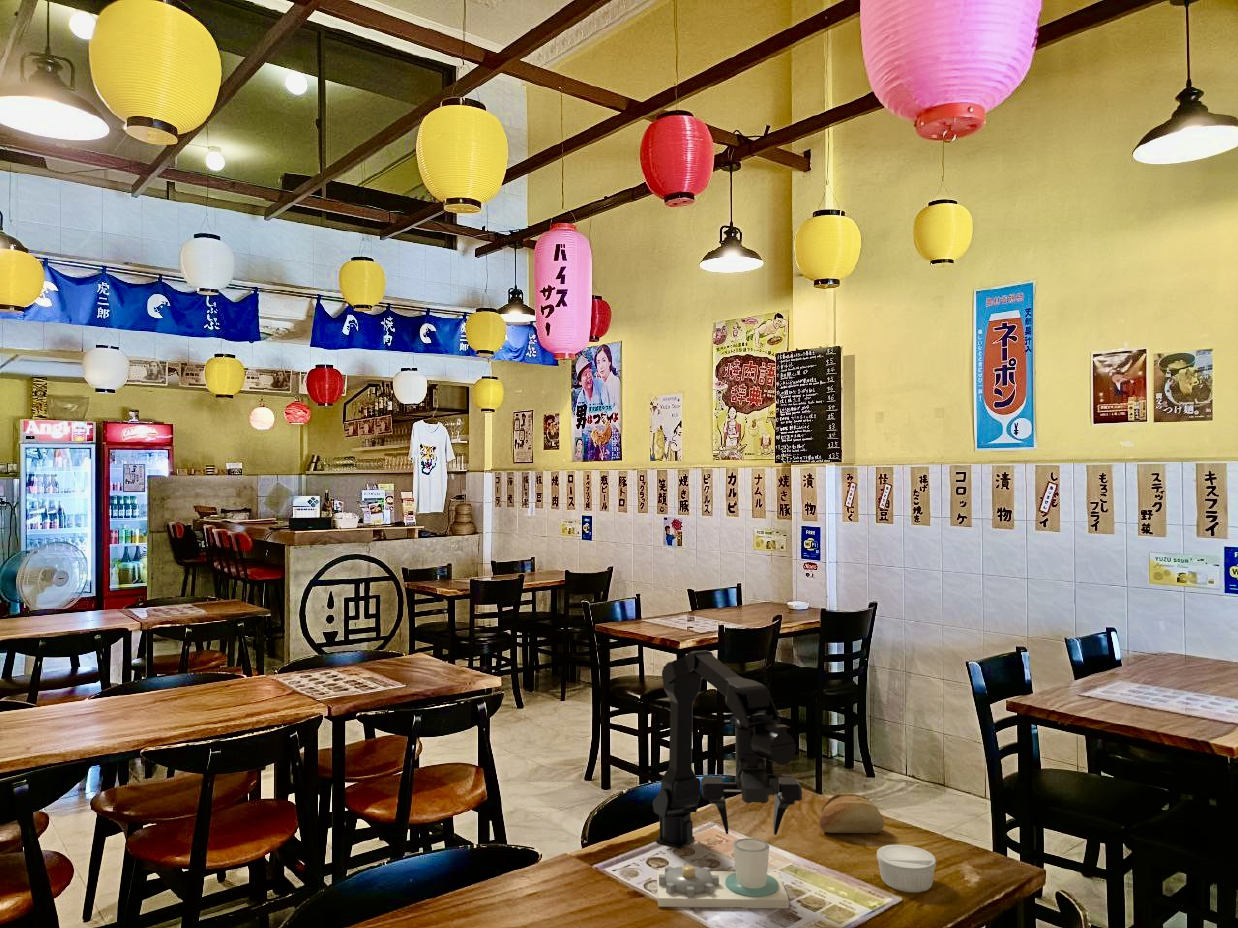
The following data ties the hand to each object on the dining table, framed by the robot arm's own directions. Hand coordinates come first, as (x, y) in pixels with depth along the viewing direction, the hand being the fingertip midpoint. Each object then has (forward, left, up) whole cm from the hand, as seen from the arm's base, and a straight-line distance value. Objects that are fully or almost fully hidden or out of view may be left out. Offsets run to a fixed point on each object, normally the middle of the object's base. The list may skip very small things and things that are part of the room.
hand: (751, 833), depth 160 cm
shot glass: (0, 0, -9) cm, 9 cm away
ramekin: (+23, +21, -11) cm, 33 cm away
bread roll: (+5, +41, -11) cm, 43 cm away
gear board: (-5, -4, -11) cm, 12 cm away
